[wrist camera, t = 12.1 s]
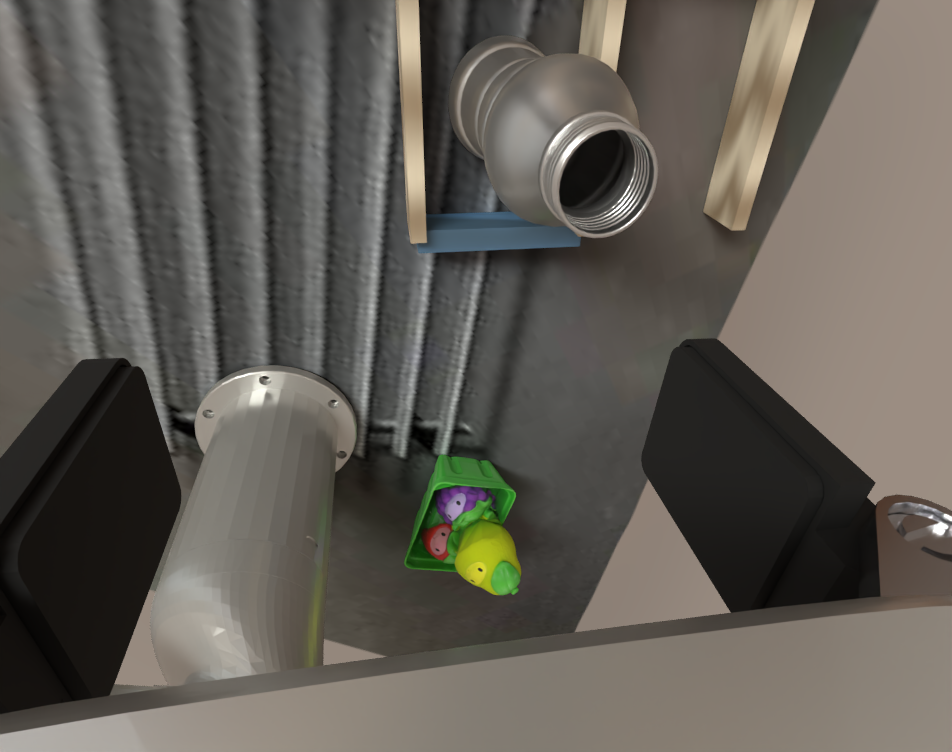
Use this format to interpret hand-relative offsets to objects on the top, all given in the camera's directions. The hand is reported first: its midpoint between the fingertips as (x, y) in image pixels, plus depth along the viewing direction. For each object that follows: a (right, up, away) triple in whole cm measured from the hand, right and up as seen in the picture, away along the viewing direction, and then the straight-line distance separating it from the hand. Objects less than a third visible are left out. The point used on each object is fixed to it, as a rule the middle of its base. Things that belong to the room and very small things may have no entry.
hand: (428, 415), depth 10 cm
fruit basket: (-1, -10, +44) cm, 45 cm away
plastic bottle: (+2, +18, +24) cm, 31 cm away
